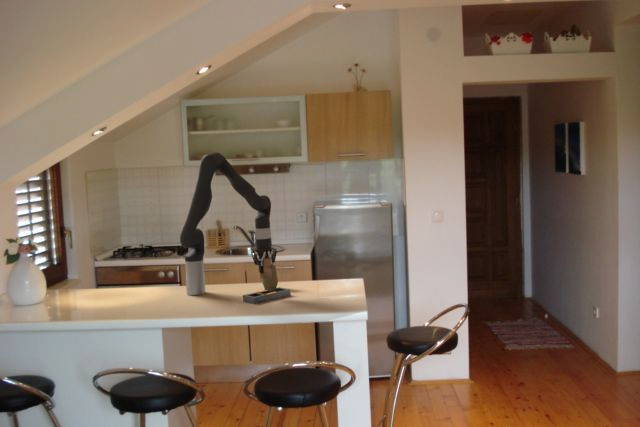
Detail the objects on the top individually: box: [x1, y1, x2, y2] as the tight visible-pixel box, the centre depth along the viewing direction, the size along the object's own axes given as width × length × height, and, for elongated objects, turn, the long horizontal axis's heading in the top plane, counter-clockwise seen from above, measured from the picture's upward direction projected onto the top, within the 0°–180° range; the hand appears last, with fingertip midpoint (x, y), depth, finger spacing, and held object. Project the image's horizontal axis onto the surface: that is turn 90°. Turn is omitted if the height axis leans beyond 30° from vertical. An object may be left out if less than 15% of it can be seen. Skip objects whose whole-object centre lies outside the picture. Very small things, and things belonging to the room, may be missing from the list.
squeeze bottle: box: [262, 262, 279, 290], centre depth 360 cm, size 8×8×18 cm
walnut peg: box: [259, 257, 272, 280], centre depth 338 cm, size 4×4×10 cm
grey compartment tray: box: [242, 287, 292, 305], centre depth 340 cm, size 9×22×3 cm, turn 131°
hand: (265, 272), depth 338 cm, fingers closed on walnut peg, 4 cm apart
